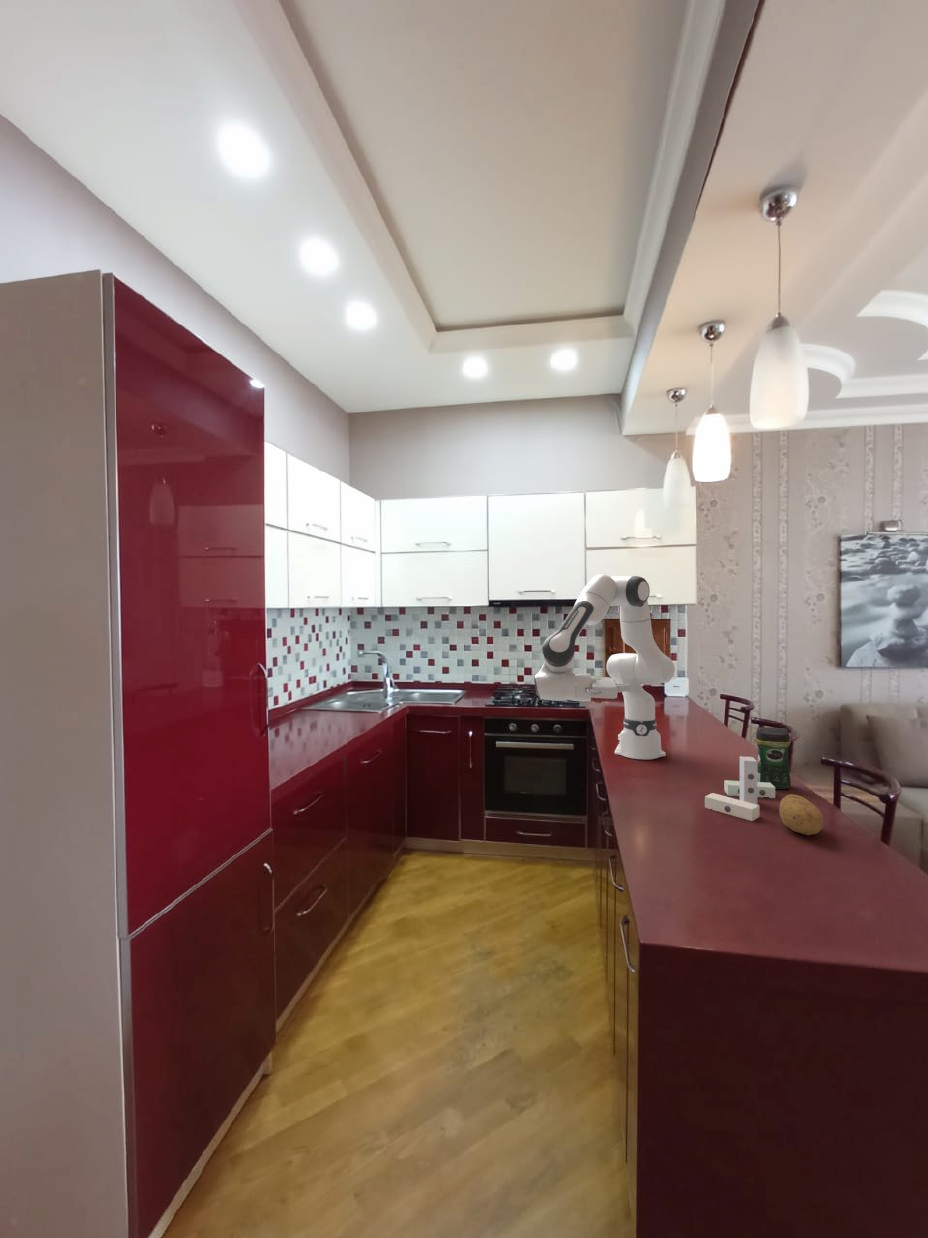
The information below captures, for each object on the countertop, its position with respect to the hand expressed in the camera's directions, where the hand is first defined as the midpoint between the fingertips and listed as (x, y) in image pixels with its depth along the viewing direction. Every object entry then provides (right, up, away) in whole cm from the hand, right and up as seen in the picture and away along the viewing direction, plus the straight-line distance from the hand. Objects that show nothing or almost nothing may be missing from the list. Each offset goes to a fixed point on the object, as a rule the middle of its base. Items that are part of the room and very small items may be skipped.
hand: (630, 688), depth 171 cm
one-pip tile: (+18, -31, -14) cm, 38 cm away
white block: (+28, -30, -4) cm, 42 cm away
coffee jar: (+46, -32, +2) cm, 56 cm away
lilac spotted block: (+31, -32, -12) cm, 46 cm away
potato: (+34, -33, -32) cm, 57 cm away
